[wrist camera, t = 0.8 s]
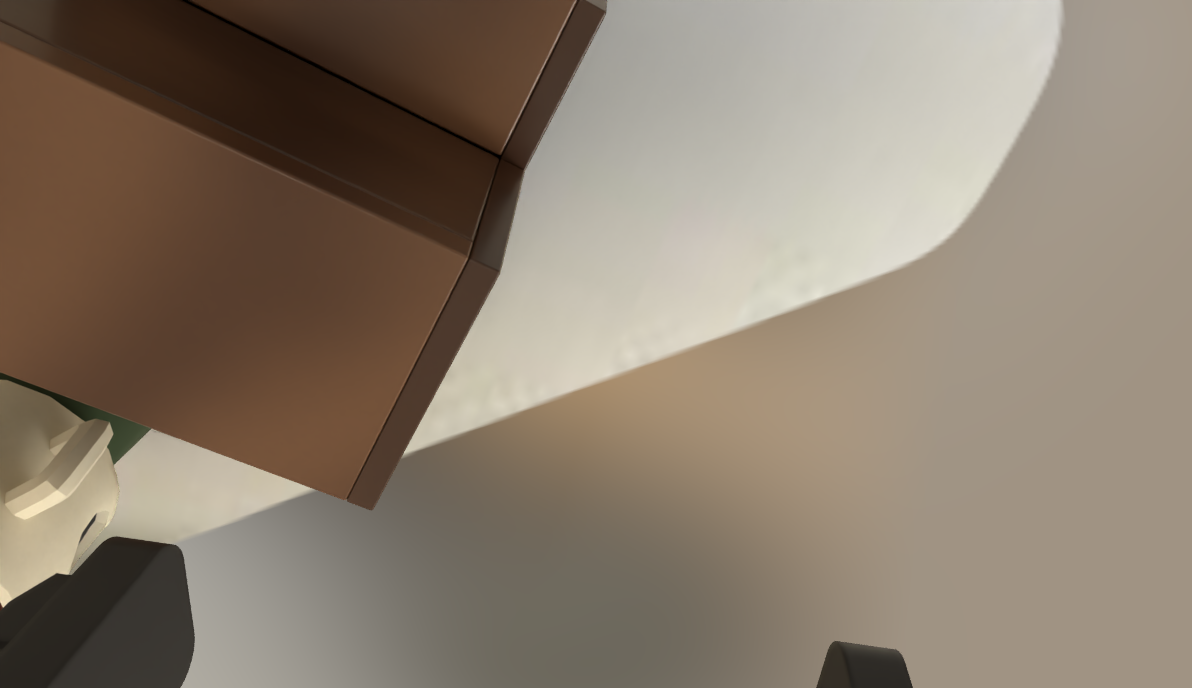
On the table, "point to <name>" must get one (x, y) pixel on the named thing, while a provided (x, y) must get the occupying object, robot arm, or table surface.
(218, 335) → the wooden step riser
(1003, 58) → the table surface
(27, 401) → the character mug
